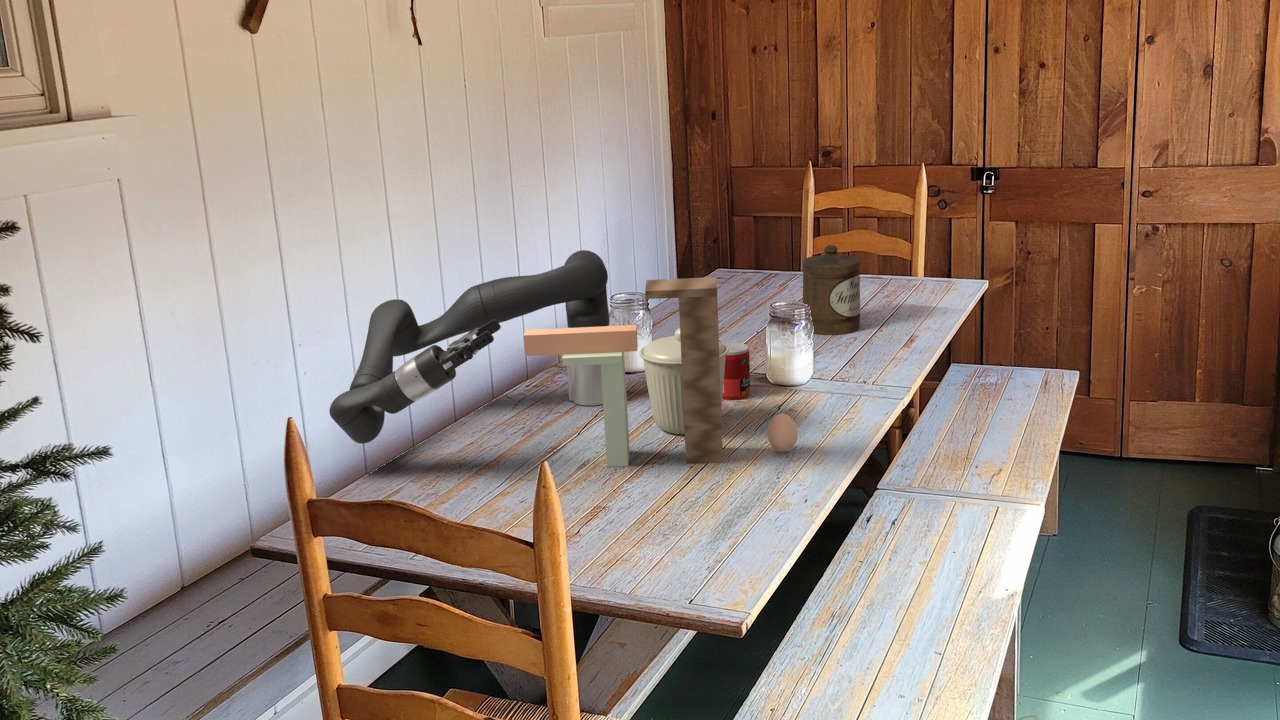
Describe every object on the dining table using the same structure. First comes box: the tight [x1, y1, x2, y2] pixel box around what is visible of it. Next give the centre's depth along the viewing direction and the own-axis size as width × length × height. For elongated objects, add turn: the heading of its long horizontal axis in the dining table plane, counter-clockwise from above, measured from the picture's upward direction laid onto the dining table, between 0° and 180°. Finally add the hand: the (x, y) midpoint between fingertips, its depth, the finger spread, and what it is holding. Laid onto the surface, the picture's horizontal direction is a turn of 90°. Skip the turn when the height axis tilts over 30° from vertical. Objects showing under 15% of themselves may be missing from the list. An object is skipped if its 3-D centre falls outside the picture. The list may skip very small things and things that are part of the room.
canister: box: [638, 327, 729, 435], centre depth 245 cm, size 18×18×21 cm
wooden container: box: [802, 244, 861, 336], centre depth 313 cm, size 15×15×22 cm
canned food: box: [722, 342, 751, 401], centre depth 265 cm, size 8×8×11 cm
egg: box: [767, 413, 799, 453], centre depth 231 cm, size 6×6×8 cm
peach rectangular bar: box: [522, 324, 639, 357], centre depth 226 cm, size 21×4×4 cm, turn 89°
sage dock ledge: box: [561, 352, 631, 468], centre depth 230 cm, size 11×9×22 cm
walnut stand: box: [644, 276, 724, 465], centre depth 227 cm, size 13×9×34 cm
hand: (494, 329), depth 226 cm, fingers open, 8 cm apart
